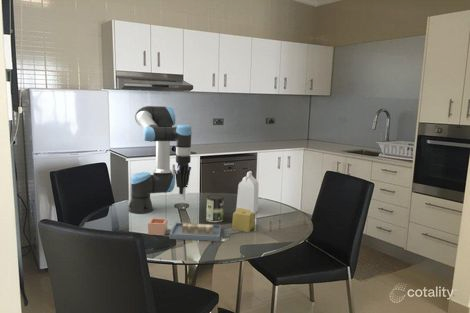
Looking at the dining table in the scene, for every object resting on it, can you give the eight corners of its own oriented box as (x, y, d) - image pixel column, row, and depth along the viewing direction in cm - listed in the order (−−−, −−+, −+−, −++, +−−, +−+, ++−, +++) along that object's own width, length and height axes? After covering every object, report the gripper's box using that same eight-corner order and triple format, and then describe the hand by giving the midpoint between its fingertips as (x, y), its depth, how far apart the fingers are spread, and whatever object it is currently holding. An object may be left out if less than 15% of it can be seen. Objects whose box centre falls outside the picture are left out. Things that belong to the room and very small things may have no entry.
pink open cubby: (147, 234, 199) (148, 223, 198) (151, 228, 207) (151, 218, 207) (164, 235, 199) (164, 224, 198) (167, 229, 207) (167, 218, 207)
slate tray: (169, 238, 194) (169, 234, 194) (175, 226, 212) (175, 222, 212) (219, 241, 194) (219, 236, 194) (221, 229, 212) (221, 224, 212)
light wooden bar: (180, 226, 201) (210, 218, 200) (181, 224, 204) (210, 216, 203) (184, 241, 202) (214, 233, 201) (185, 238, 206) (214, 231, 205)
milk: (253, 215, 240) (255, 174, 236) (235, 212, 244) (237, 172, 240) (258, 210, 251) (260, 171, 247) (241, 207, 255) (243, 169, 251)
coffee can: (224, 217, 232) (225, 195, 230) (220, 223, 222) (221, 199, 220) (208, 216, 234) (209, 193, 232) (203, 221, 224) (204, 197, 222)
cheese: (254, 227, 218) (255, 210, 217) (249, 233, 208) (250, 215, 207) (237, 224, 222) (238, 207, 220) (231, 230, 212) (231, 212, 210)
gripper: (182, 157, 189) (181, 203, 193) (196, 154, 201) (194, 197, 205) (170, 155, 192) (169, 201, 196) (183, 152, 204) (182, 195, 208)
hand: (182, 199), depth 200 cm, fingers closed
